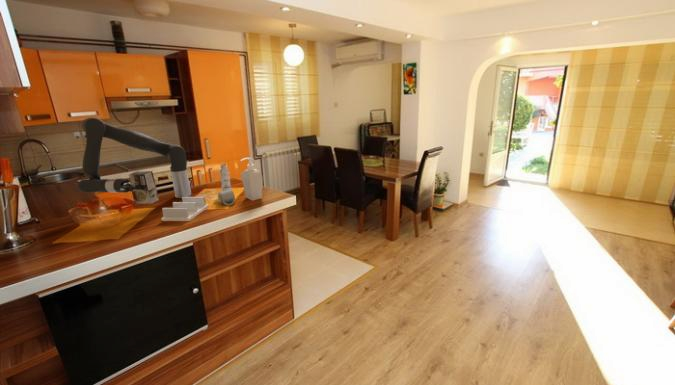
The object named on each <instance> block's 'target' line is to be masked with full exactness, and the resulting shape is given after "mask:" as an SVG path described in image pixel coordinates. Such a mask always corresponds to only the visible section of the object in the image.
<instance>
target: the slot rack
mask: <svg viewBox="0 0 675 385" xmlns="http://www.w3.org/2000/svg"><path fill="white" fill-rule="evenodd" d="M181 199H182V201H179V202H178V201H173V202H172V207H162V209H161V211H162V215H163V217H161V218H160V219H161V222H190V221H192V220H194V218H196V217H197V216H198V215H200V214H201V213H202V212H204V211H205V210H207V209H208V208H209V204H206V203H207V202H206V197H205V196H188V197H182V198H181Z"/></svg>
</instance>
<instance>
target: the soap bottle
mask: <svg viewBox="0 0 675 385" xmlns="http://www.w3.org/2000/svg"><path fill="white" fill-rule="evenodd" d="M245 160H248V162H247V163H248V164H246V167H247V168H246V169H244V170H243V171H242V172H241V174H240V178H241V181H242V186H243V189H244V194H245V198H246V199H248V200H250V201H255V200H260V199H263V178H264V177H263V175H262V172H261V171H260V170H259V169H256V168H255V164H253V160H255V158H253V157H247V156H246V157H243V158H241V159H240V160H239V161H240V162H243V161H245Z"/></svg>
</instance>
